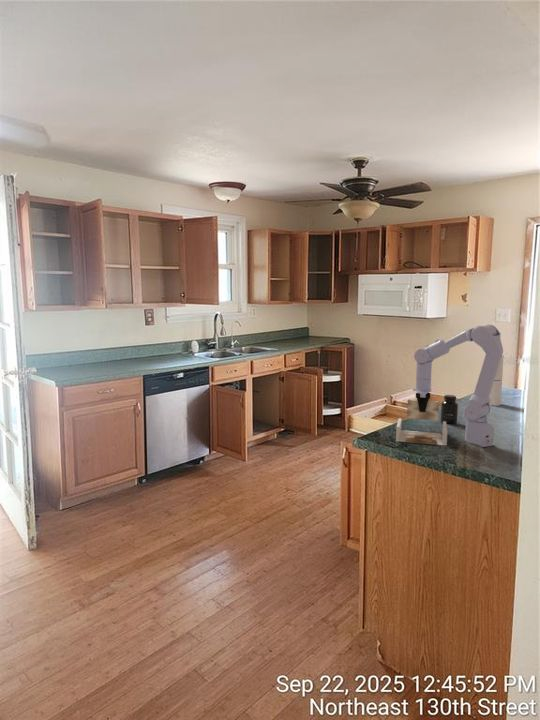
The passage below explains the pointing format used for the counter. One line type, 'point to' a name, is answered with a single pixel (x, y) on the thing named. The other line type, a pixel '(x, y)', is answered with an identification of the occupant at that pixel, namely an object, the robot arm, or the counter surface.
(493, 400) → the cylindrical container
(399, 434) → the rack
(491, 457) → the counter surface
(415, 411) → the tall sheet
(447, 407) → the supplement bottle
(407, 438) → the offcut stack
